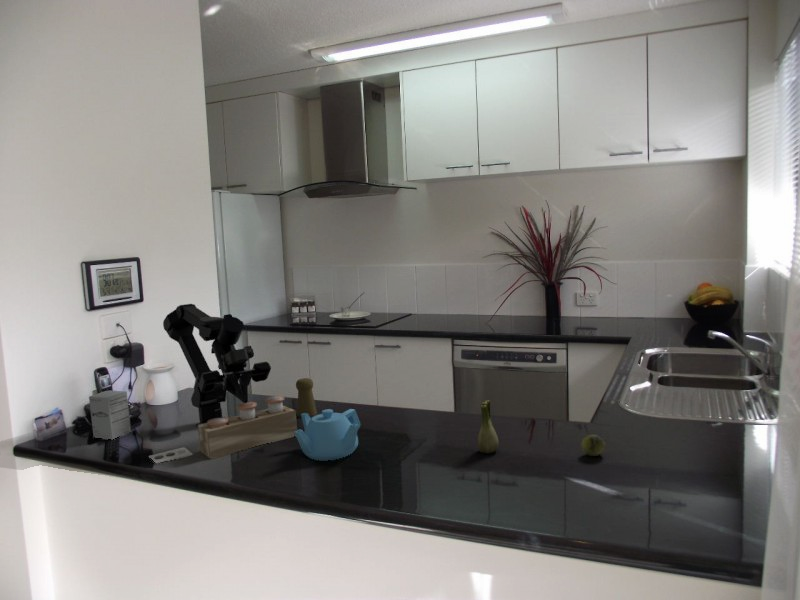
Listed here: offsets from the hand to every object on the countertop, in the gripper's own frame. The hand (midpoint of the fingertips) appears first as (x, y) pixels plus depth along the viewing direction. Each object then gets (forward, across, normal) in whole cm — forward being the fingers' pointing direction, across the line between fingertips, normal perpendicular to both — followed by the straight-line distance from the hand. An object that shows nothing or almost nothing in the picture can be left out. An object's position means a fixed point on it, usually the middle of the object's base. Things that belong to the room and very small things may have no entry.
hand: (246, 402), depth 164 cm
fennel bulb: (+43, +39, -27) cm, 65 cm away
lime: (+57, +53, -41) cm, 88 cm away
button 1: (+6, -8, +6) cm, 11 cm away
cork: (-1, +24, +17) cm, 29 cm away
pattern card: (+4, -19, +12) cm, 23 cm away
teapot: (+24, +12, -8) cm, 28 cm away
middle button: (+4, 0, +4) cm, 6 cm away
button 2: (+4, +8, +4) cm, 10 cm away
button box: (+8, 0, +8) cm, 11 cm away
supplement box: (-19, -26, +35) cm, 48 cm away
